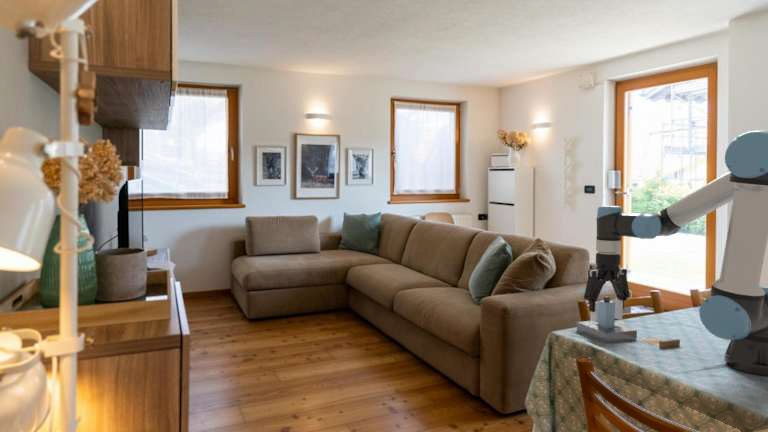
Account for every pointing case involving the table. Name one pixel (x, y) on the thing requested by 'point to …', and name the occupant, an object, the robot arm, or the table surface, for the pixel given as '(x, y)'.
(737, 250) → the robot arm
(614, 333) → the panel
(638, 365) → the table surface
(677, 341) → the holster
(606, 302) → the grey square bottle
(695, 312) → the table surface
